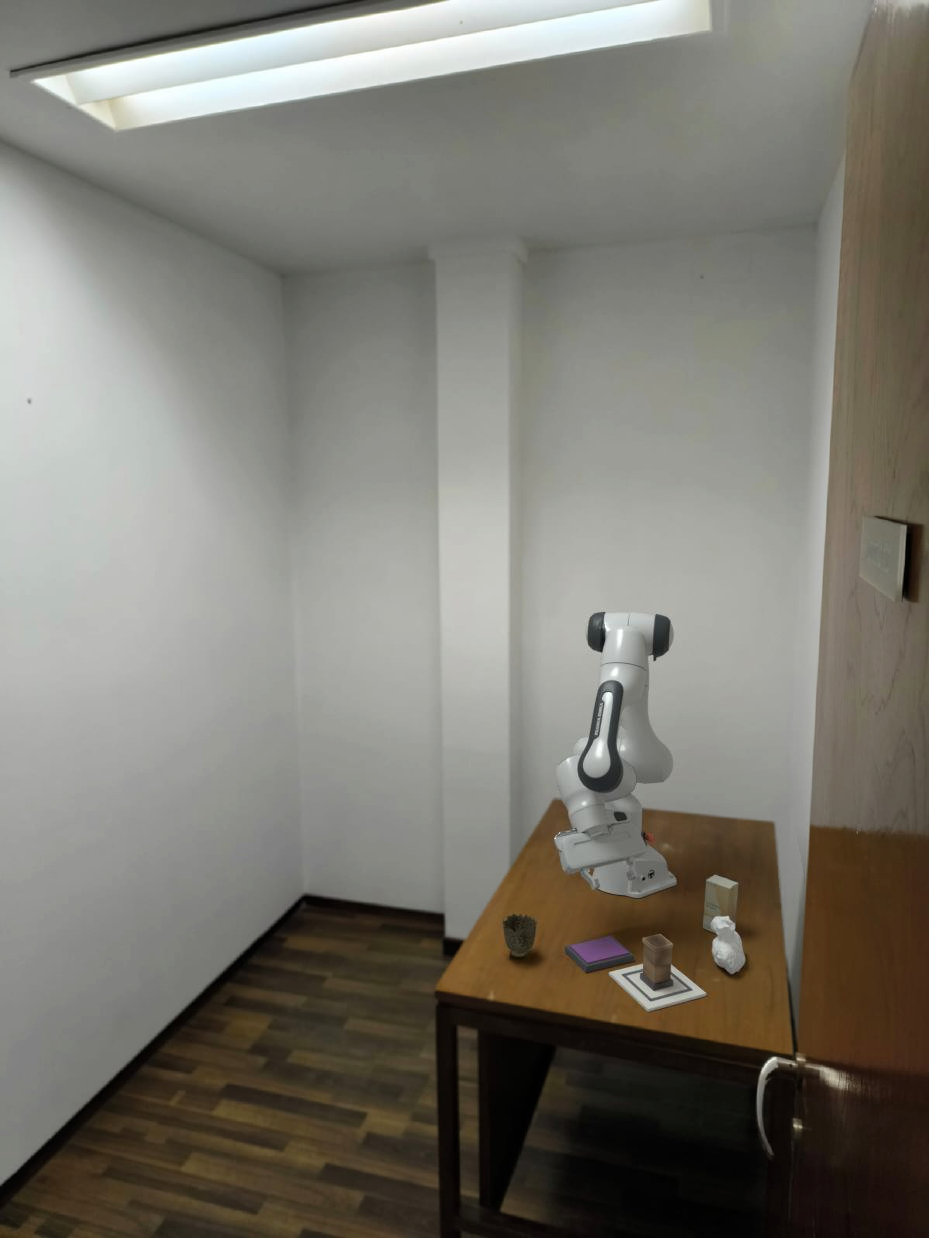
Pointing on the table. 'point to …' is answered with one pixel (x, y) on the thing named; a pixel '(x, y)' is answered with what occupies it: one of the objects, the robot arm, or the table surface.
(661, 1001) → the print card
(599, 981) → the table surface
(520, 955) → the cup
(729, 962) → the bust
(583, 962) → the ink pad
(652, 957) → the stamp
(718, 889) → the skincare box
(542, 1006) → the table surface
